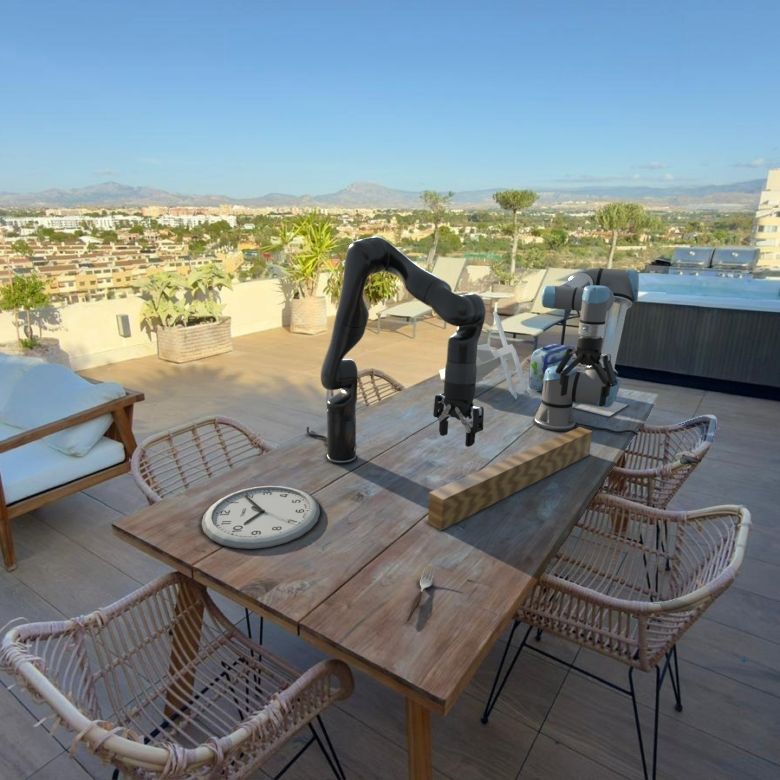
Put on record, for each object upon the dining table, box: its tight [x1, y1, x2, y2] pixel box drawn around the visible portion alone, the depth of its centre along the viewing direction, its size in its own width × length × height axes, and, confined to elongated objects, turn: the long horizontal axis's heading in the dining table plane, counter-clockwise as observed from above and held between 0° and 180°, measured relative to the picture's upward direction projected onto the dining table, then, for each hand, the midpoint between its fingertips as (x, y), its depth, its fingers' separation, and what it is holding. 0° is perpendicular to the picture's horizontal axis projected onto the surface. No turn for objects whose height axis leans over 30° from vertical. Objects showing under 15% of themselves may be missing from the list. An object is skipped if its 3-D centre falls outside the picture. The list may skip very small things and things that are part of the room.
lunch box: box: [528, 343, 574, 392], centre depth 248 cm, size 26×11×21 cm, turn 134°
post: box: [427, 426, 593, 531], centre depth 155 cm, size 73×5×9 cm, turn 131°
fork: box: [406, 565, 436, 622], centre depth 107 cm, size 3×16×2 cm, turn 160°
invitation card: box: [573, 401, 629, 418], centre depth 226 cm, size 21×1×15 cm
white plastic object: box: [438, 310, 531, 400], centre depth 245 cm, size 37×45×31 cm
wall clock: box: [201, 485, 321, 550], centre depth 137 cm, size 30×2×30 cm
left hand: (456, 440), depth 131 cm, fingers open, 8 cm apart
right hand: (582, 400), depth 170 cm, fingers open, 13 cm apart
